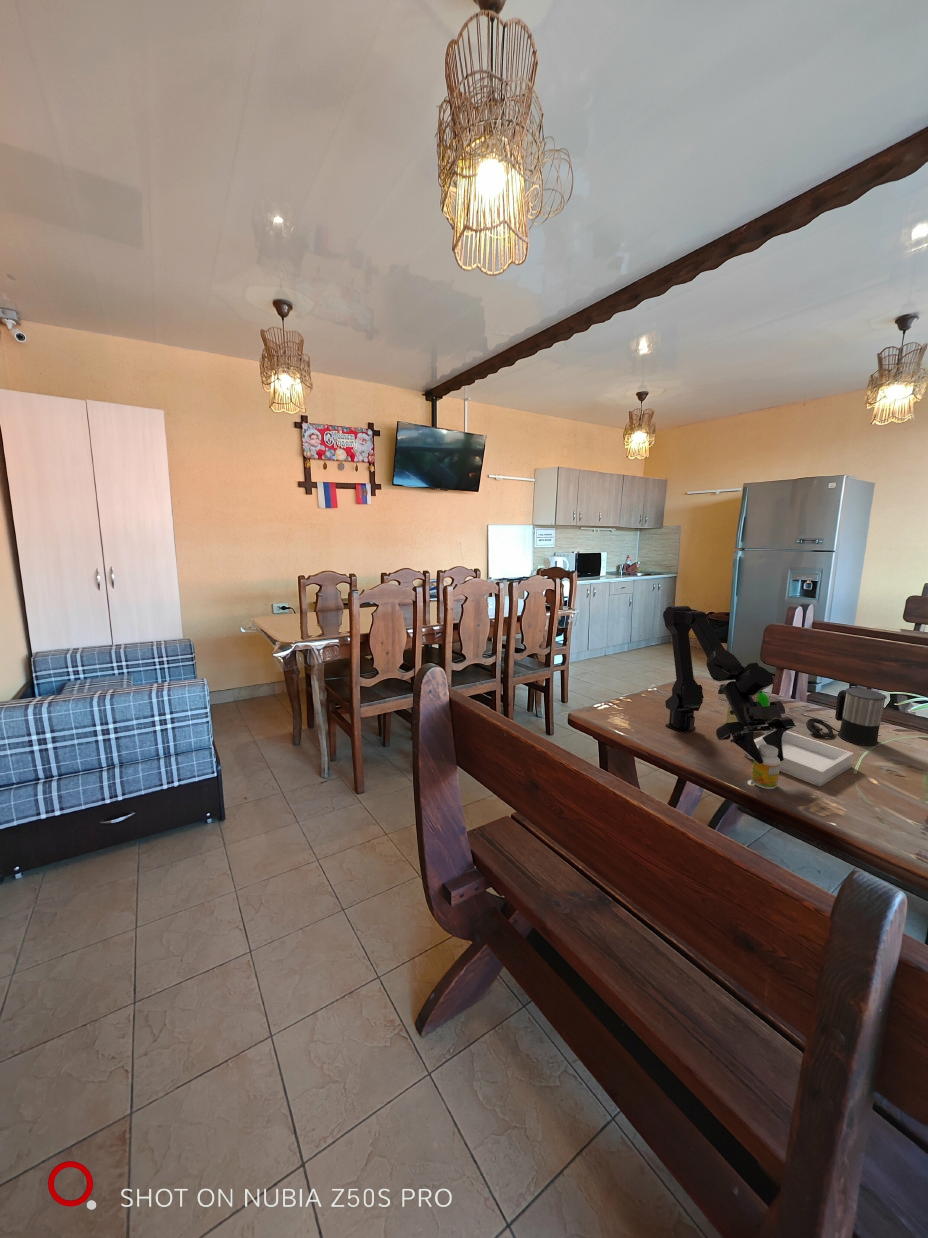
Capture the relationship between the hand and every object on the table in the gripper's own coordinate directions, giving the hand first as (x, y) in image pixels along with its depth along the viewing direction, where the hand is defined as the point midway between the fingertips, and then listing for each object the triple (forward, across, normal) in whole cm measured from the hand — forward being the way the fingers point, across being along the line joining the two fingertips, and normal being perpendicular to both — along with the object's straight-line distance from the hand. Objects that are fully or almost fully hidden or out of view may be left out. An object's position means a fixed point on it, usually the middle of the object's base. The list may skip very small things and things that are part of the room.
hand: (771, 762), depth 111 cm
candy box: (-17, +19, +27) cm, 37 cm away
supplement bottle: (+4, 0, +6) cm, 7 cm away
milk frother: (-9, +43, +18) cm, 48 cm away
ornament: (-24, +32, +33) cm, 52 cm away
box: (-2, +17, +11) cm, 21 cm away
